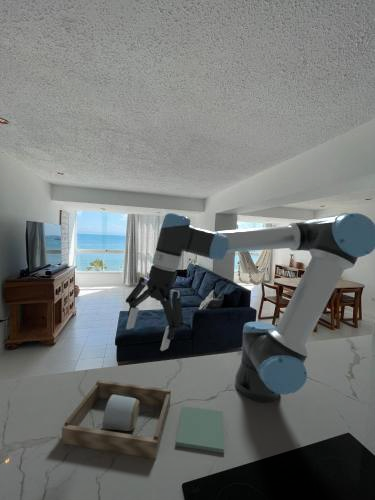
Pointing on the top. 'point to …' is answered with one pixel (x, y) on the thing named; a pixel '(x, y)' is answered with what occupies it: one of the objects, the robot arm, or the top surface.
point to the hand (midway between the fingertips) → (146, 338)
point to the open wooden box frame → (113, 439)
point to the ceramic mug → (121, 413)
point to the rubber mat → (201, 429)
